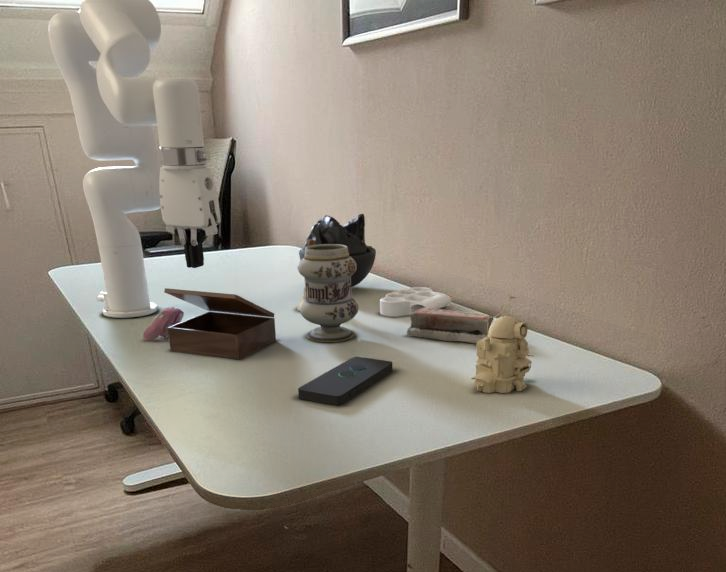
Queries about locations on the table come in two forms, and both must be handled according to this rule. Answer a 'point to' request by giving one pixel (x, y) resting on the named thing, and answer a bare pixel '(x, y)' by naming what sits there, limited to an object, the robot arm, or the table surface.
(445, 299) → the white lobed tray
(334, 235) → the bowl of black rocks
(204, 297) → the box lid
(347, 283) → the apothecary jar
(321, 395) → the smart home device
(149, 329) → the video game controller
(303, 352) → the table surface
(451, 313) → the packaged product
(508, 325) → the robot
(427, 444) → the table surface
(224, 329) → the box
